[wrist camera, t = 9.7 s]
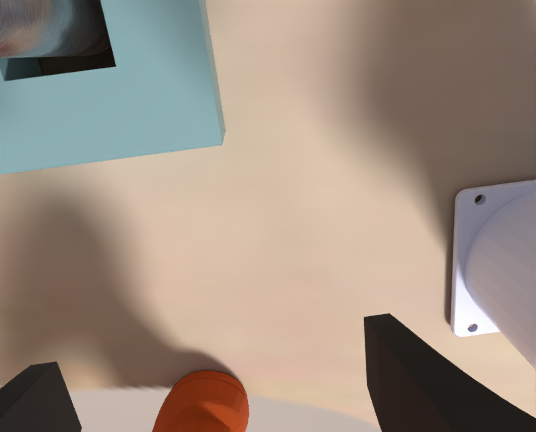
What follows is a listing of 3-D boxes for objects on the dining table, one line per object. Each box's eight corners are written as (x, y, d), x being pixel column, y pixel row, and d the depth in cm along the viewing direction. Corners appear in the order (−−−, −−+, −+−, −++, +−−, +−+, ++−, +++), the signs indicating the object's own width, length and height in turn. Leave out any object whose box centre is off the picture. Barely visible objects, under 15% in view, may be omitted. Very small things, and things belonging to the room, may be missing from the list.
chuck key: (44, -22, 16) (-232, -122, 7) (115, -15, 16) (-57, -104, 7) (51, 52, 17) (-183, 54, 8) (118, 58, 17) (-30, 66, 8)
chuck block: (179, -158, 15) (165, -207, 12) (225, 131, 18) (222, 145, 16) (-109, -121, 15) (-192, -161, 12) (-7, 161, 18) (-52, 181, 16)
